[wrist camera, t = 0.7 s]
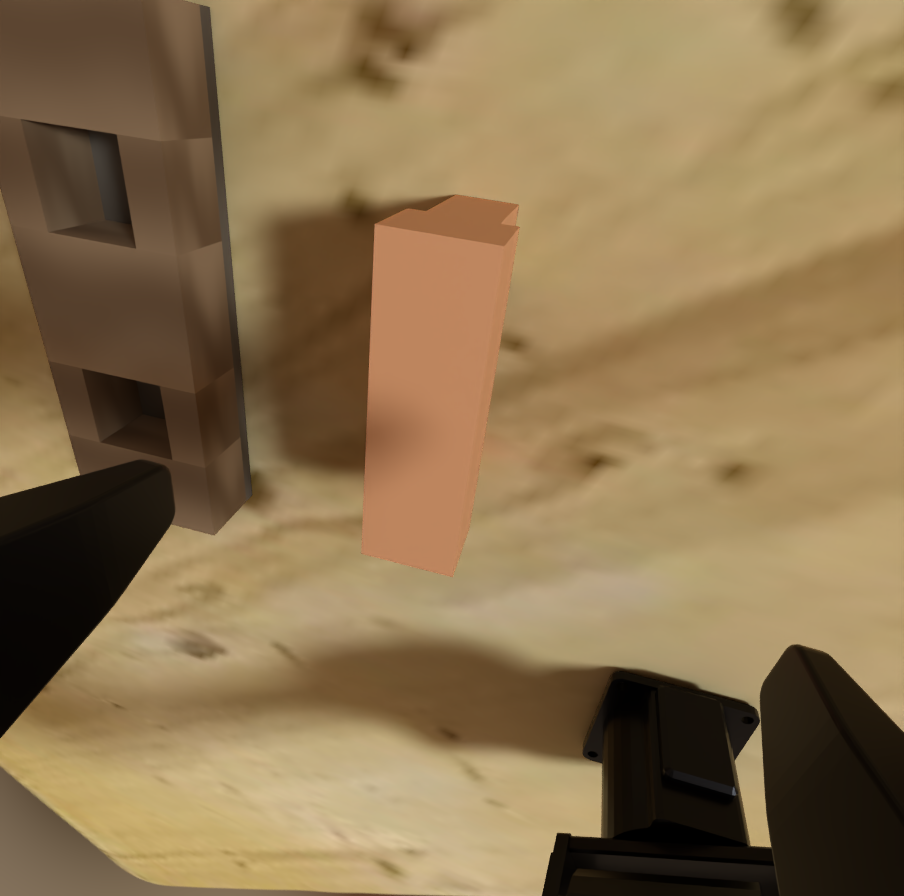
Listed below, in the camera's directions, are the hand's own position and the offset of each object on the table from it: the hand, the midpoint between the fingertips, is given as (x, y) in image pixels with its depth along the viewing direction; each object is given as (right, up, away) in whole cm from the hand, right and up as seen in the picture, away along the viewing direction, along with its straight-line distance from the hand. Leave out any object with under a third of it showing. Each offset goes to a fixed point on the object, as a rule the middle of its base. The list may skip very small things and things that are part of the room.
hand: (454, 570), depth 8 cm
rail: (-11, +8, +14) cm, 20 cm away
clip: (+1, +5, +12) cm, 13 cm away
